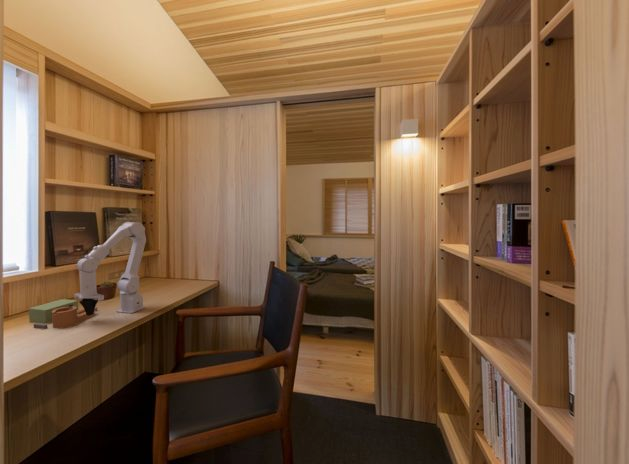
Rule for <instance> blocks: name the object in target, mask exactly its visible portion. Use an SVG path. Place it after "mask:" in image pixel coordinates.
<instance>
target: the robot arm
mask: <svg viewBox="0 0 629 464" xmlns="http://www.w3.org/2000/svg"><path fill="white" fill-rule="evenodd" d="M127 237H129V238H130V240H131V241H132V245H131V249H130V252H129V257H128V261H127V263H126V267H125V272H124V273H122V274H121V275H120V278H119V280H118V281H117V283H116V288H117V289H118V290H119V301H120V302H119V303H120V308H119V309H117V310H116V312H117V313H126V314H127V313H128V314H133V313H135V312H139V311H141V310H144V309H145V306H144V299H143V298H144V297H143V294H141V293H139V292H138V290H139V288H140V277H139V275H138V273H139V270H140V265H141V262H142V259H143V255H144V250H145V246H146V243H147V237H146V227H145V226H144V225H143V224H142V223H141V222H140V221H139V222H137V221H136V222H132V221H126V222H123V223H122V224H121V225H120V226H118V228H117V229H116V231H114V232H113V233H112V235H111V236H109V238H108V239H107V240H106V241H105V242H104V243H103V244H98V245H97V246H93V248H92V250H91V251H90V252H89V253H88V254H85V255H84V258H81V259H79V260H78V261H77V263H76V265H75V267H76V269H77V270H78V272H79V273H78V274H79V290H80V292H77V293H73V295H74V298H73V299H79V300H78V304H81V306H82V309H84V310H85V312H86V315H88V316H90V315H92V314H94V309H95V307H97V304H98V303H99V302H101V301H104V300H105V296H104V294H100V293H98V292H97V275H96V270H97V269H98V267H99V264H100V263H101V262H102V261H103V260H104V259H106V257H107V256H108V255H109V254H110V250H111V249H112V248H113V247H114V246H115V245H116V244H117V243H119V242H120V241H121V240H122V239H123V238H127ZM80 299H81V300H80Z"/></svg>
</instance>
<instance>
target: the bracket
mask: <svg viewBox="0 0 629 464" xmlns="http://www.w3.org/2000/svg"><path fill="white" fill-rule="evenodd" d="M95 315H96V311H95V309H94V314H92V315H90V316H88V315H86V312H85V310H84V308H80V309H79V308H78V310H77V307H75V306H72V307H71V308H70V306H68V307H62V308H58V309H55V310H53V311H52V322H51V323H52V328H53V329H64V328H69V327H73V326H75V325H76V324H79V323H81V322H83V321H85V320H88V319H89V318H91V317H94V316H95Z"/></svg>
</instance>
